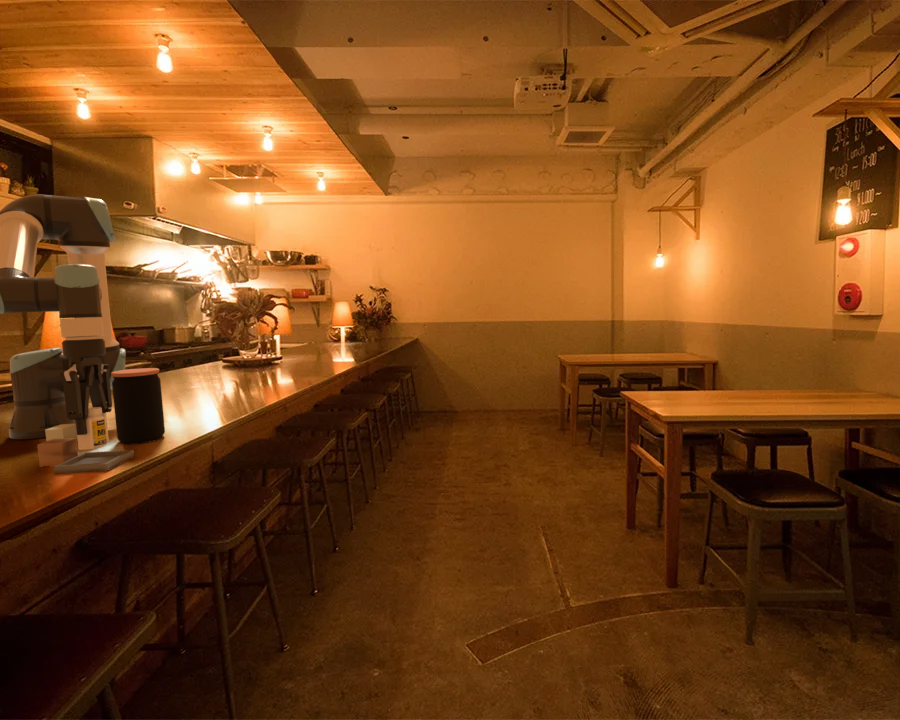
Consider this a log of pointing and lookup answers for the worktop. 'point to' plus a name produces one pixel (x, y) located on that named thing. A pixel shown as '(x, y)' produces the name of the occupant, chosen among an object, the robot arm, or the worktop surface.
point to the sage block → (61, 432)
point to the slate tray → (93, 461)
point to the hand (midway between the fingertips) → (94, 445)
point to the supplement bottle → (98, 426)
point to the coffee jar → (138, 405)
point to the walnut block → (57, 451)
